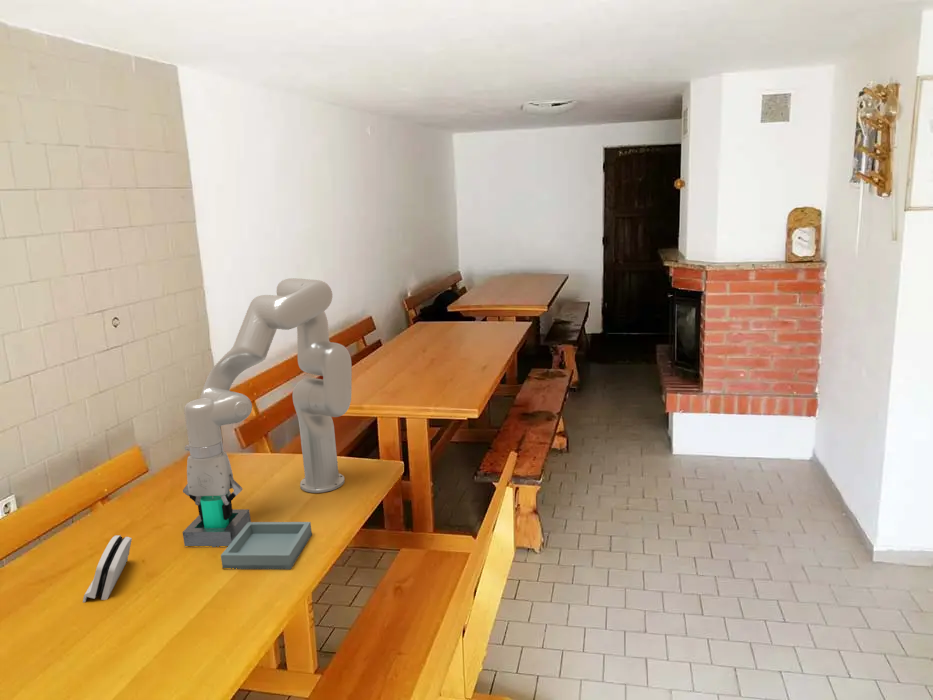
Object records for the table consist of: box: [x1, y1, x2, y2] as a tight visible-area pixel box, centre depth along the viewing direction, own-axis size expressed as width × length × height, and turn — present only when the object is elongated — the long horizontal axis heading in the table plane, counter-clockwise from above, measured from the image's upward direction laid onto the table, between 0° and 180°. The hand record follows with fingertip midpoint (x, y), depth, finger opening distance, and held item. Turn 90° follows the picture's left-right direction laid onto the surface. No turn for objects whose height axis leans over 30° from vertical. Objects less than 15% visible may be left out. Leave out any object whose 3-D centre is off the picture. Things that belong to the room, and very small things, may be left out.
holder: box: [182, 508, 252, 548], centre depth 179 cm, size 12×12×4 cm
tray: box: [220, 521, 313, 570], centre depth 169 cm, size 16×16×4 cm
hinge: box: [82, 534, 132, 603], centre depth 160 cm, size 17×5×10 cm, turn 11°
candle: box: [200, 496, 229, 528], centre depth 178 cm, size 6×6×12 cm
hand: (216, 516), depth 178 cm, fingers closed on candle, 5 cm apart
